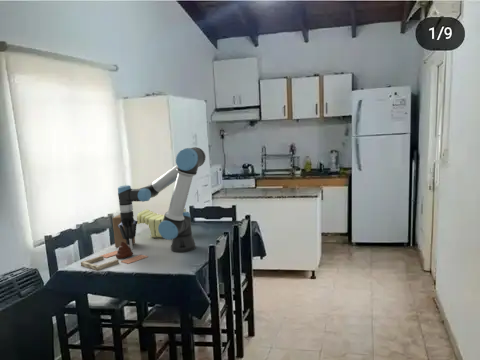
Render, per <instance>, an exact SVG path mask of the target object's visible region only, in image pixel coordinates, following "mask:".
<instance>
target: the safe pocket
mask: <svg viewBox="0 0 480 360" xmlns="http://www.w3.org/2000/svg"><path fill="white" fill-rule="evenodd" d="M103 260H104V257H103V256H101V255H99V256H95V257H93V258H90V259H86V260H83V261H80V265H81V266H82V267H85V268H89V269H92V270H95V271H99V270H102V269H105V268H106V269H107V268H109V267H112V266H115V265H118V264H119V263H120V261H119V259H114V260H111V261H108V262H105V263H101V264H99V265H98V264H93V263H96V262H99V261H103Z"/></svg>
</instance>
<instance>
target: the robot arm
mask: <svg viewBox="0 0 480 360" xmlns="http://www.w3.org/2000/svg"><path fill="white" fill-rule="evenodd" d="M205 162H206V153H205V151H204V150H203V149H202V148H200V147H187V148H183V149H181V150H179V152H178V153H177V154H176V156H175V163H176V165H173V167H171V168H170V169H169V170H167V171H166V172H165V173H164V174H162V175H161V176H160V177H158V178H157V179H155V180H154V181H153V182H151V183H150V184H148V185H147V186H144V187H140V188H132V186H131V185H129V184H125V185H120V186H118V187H117V196H118V205H119V211H120V212H119V215H120V216H121V223H120V224H119V225H118V227H119V229H120V232H121V234H122V237H123V239H126V244H127V245H128V246H129V247H130V248H131V251H132V250H133V245H134V244H133V239H134V238H133V237H136V236H137V235H136V234H137V225H138V224H137V222H138V221H137V220H135V219H134V211H133V210H134V208H133V207H134V206H133V202H142V203H143V202H149V201H150V200H151V198H152V199H153V198H154V197H157V196H158V195H159V194H160V193H161V192H162V191H163V190H165V189H166V188H169V186H170V185H172V184H174V187H173V190H172V195H171V198H170V203H169V207H168V210H167V211H166V212H165V213H164V214H163V215H164V219H163V221H162V222H161V223H160V224H159V227H158V231H159V233H160V235H161V236H162V237H161V238H163V239H165V240H169V241H171V245H170V250H171V251H172V252H175V253H184V252H190V251H192V250H195V249H196V247H197V245H196V242H195V240H194V237H193V232H192V221H191V218H192V217H191V213H190V212H189V211H186V212H184V209H185V208H186V207H185V206H186V203H187V200H188V196H189V192H190V188H191V185H192V181H193V178H194V176H196V175H197V173H198V169H199V168H200V167H201V166H203V165H204V163H205ZM132 224H133V225H132ZM123 226H124V228H123ZM124 229H125V231H124ZM129 238H130V239H129ZM132 244H133V245H132Z"/></svg>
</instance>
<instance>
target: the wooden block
mask: <svg viewBox="0 0 480 360" xmlns="http://www.w3.org/2000/svg"><path fill="white" fill-rule="evenodd" d="M120 223H121V216H120V214H118V215H116V216H114V217H112V229H113V237H114V247H115V248H119V246H121V242H124V243H126V239H123V237H122V234H121V232H120V229H119V227H118V225H119V224H120ZM132 225H133V224H132ZM123 228H124V226H123ZM124 231H125V229H124ZM135 237H136V236H135ZM135 237H133V238H134V239H133V244H132V246H133V245H135V243H136V238H135ZM129 239H130V238H129ZM126 245H127V244H126Z"/></svg>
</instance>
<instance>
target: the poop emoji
mask: <svg viewBox="0 0 480 360" xmlns="http://www.w3.org/2000/svg"><path fill="white" fill-rule="evenodd" d="M116 251H117V252H118V253H117V254H116V255H115V257H116V258H117V260H119V259H120V260H121V259H125V258H127V257H129V258H131V257H132V256H133V254H134V252H133V251H132V250H131V248H130V247H129V246H128V245H126V243H124V242H121V246H119V247H116Z"/></svg>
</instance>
